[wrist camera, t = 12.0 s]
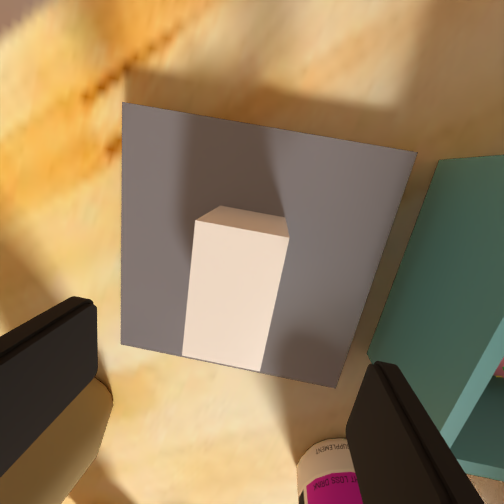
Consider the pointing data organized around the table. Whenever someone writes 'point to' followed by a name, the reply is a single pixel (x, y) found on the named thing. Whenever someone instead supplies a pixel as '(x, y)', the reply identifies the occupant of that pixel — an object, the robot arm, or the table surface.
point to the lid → (250, 240)
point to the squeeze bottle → (60, 451)
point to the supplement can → (327, 475)
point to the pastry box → (454, 311)
